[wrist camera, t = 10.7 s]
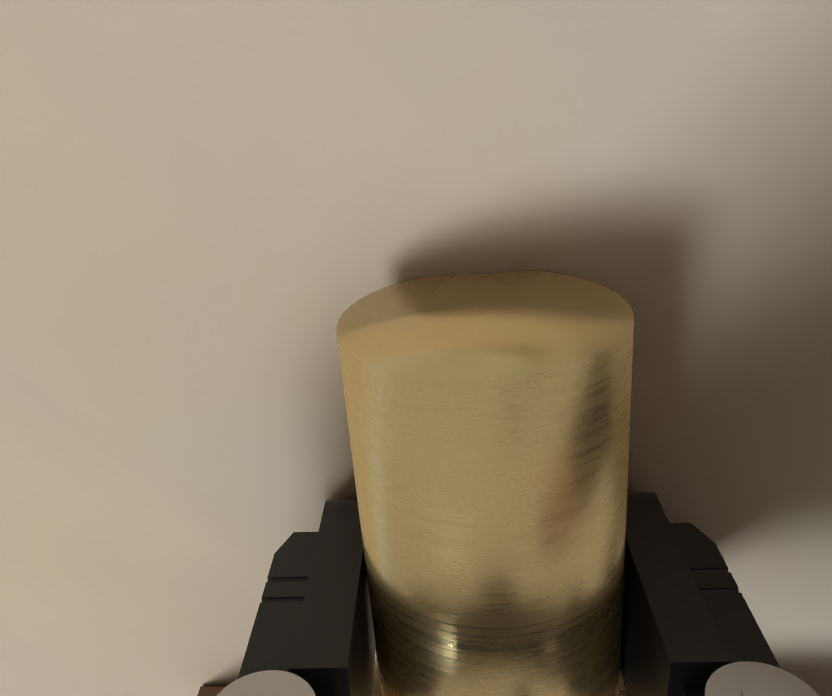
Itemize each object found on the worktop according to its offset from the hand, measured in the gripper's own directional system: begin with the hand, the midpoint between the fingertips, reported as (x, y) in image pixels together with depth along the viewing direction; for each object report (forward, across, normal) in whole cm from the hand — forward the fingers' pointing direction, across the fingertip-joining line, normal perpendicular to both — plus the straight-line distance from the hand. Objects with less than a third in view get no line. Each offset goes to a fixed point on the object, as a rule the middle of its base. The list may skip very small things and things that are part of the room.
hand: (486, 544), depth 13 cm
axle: (0, 0, 0) cm, 1 cm away
